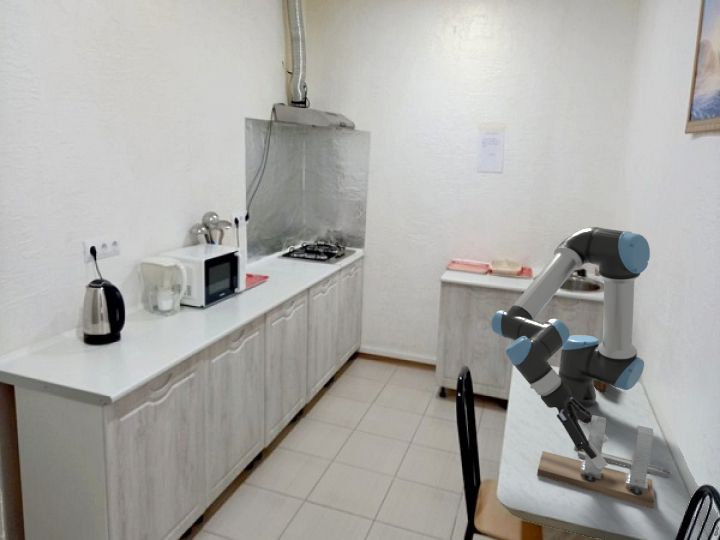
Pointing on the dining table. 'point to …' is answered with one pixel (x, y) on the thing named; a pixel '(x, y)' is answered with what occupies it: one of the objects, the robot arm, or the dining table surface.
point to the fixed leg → (640, 460)
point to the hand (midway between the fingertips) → (603, 453)
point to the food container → (600, 385)
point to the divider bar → (608, 484)
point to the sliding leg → (597, 441)
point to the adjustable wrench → (629, 463)
